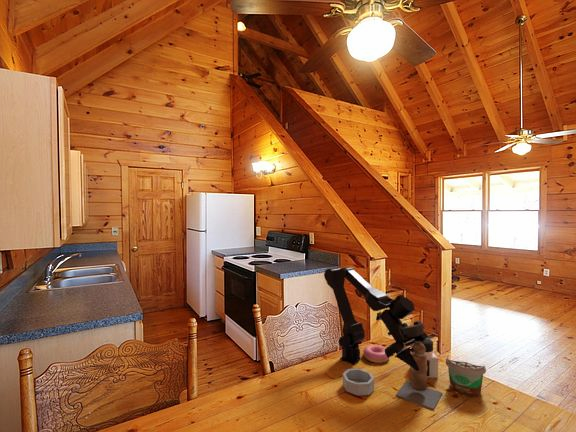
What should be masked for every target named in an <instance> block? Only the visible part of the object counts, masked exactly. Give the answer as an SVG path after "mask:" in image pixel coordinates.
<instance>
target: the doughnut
mask: <svg viewBox="0 0 576 432" xmlns="http://www.w3.org/2000/svg"><path fill="white" fill-rule="evenodd" d="M386 348H387V347H384V346H383V345H378V344H370V345H366V346H365V347H364V348H363V353H362V354H363V356H364V358H365V359H366V360H367V361H369V362H372V363H375V364H376V363H377V364H383V363H387V362H388V361H389V359H390V357H389V358H388V357H387V356H386V354H385V349H386Z"/></svg>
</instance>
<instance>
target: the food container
mask: <svg viewBox="0 0 576 432" xmlns="http://www.w3.org/2000/svg"><path fill="white" fill-rule="evenodd" d="M445 364H446V366H447V370H448V379H449V380H448V381H449V386H450V388H451V390H452V391H453V392H455V393H456V392H457V394H458V393H459V395H460V394H461V396H463V395H464V397H468V398H476V397H479V396H480V395H481V393H482V385H483V378H484V375H485V374H486V373H487V368H486V365H483V366H482V365H477V364H473V363H470V362H467V361H459V360H458V361H457V360H451V359H449V357H448V356H447V357H446V359H445Z"/></svg>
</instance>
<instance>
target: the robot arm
mask: <svg viewBox="0 0 576 432" xmlns="http://www.w3.org/2000/svg"><path fill="white" fill-rule="evenodd" d="M323 277H324V280H325V282H326V284H327V286H329V287H330V289H331V290H332V291H333V294H334V298H335V301H336V304H337V307H338V310H339V313H340V316H341V319H342V322H343V324H342V331H341V332H342V336H341V337H340V338H339V339H338V344H339V346H340V347H341V357H340V360H341V361H344V362H345V363H349V364H352V365H354V364H356V363H357V362H358V361H360V360H361V358H362V357H361V349H360V345H361V344H362V343H363V341H364V339H365V336H366V335H365V333H366V332H365V329H364V326H363V323H362V322H358V321H357V319H356V318H355V316H354V312H353V309H352V307H351V304H350V301H349V297H348V295H347V292H346V289H345V280H347V281H348V282H349V283H350V284H351V285H352V286H353V288H355V289H356V290H357V291H358V292H359V293H360V294H361V295H362V296H363V297H364V300H365V303H366V305H368V307H369V308H370V310H371V311H373V312H377V313H376V318H375V320H376V321H377V322H378V321H381V322H382V323H383V324H384V326H385V327H386V329H387V331H388V332H387V335H388V336H389V337H390V336H391V337H392V339H394V341H395V342H393V343H391V344H390V345H388V346H387V347H385V348H386V349H385V354H386V356H387V357H388V358H389V359H390V358H392V357H393V356H394V358H395V359H396V358H397V359H399V360H400V361H402V362H403V363H404V364H406V365H407V366H409V367H410V366H411V367H412V368H413V369H415V370H416V371H418V370H419V367H418V365H417V363H416V362H415V360H414V358H413V357H412V355H411V353H410V351H411V352H414V351H413V345H414V344H415V343H416V342H420V343H422V344H424V342H425V341H424V340H425V339H427V338H428V339H429V335H428V334H427V333H426V331H424V330H425V325H424V324H423V323H422V322H421V320H416V321H413V324H411V325H408V324H407V322H402V320H404V319H405V318H406V317H408V316H409V315H410V314H412V312H414V311H415V304H414V303H413V301H412V300H411V299H409V298H407V297H405V296H404V295H403V294H399V295H397V296H396V297H395V298H394V299H393V298H391V297H389V295H387V294H386V293H385V292H383V291H381V290H380V289H377V288H375V287H373V286H372V285H371V284H370V283H369V282H368V281H366V280H365V279H364V277H362V276H361V275H360V274H359V273H358V272H356V271H355V269H354V267H352V266H346V267H342V268H341V267H338V266H337V267H330V268H326V270H324V274H323ZM382 310H383V311H382ZM378 311H379V312H378ZM395 354H396V355H395ZM427 366H428V363H427Z"/></svg>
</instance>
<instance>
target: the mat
mask: <svg viewBox="0 0 576 432" xmlns="http://www.w3.org/2000/svg"><path fill="white" fill-rule="evenodd" d="M395 396H396V397H398V398H401V399H402V400H406V401H408V402H411V403H413V404H416V405H418V406H421V407H423V408H427V409H429V410H431V411H435V410H436V409H435V408H436V407H437V405H438V403H439V401H440V399H441V398H442V396H443V392H442V391H439V390H436V389H434V388H430V387H427V389H426V390H425V391H417V390H415V389H413V388H412V387H411V380H410V381H409V380H405V382H404V383H403V384H402V386H401V387H400V388H399V390H398V391H397V392H396V393H395Z"/></svg>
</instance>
